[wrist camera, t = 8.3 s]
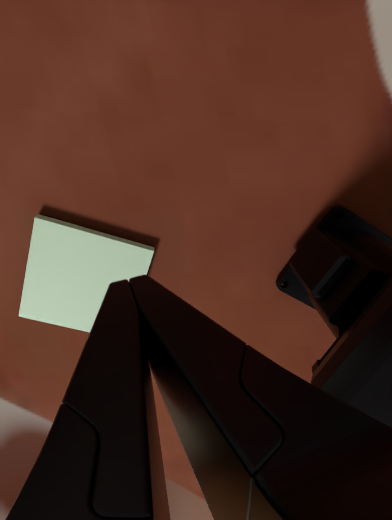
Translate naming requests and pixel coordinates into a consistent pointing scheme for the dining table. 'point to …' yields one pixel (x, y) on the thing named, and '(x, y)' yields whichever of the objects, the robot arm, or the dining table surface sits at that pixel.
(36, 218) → the sage tile
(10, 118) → the dining table surface
